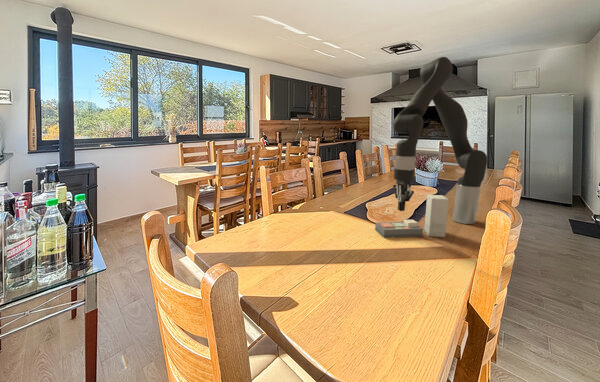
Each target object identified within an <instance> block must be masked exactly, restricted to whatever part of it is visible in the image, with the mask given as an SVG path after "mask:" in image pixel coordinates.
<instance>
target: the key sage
mask: <svg viewBox="0 0 600 382" xmlns="http://www.w3.org/2000/svg"><path fill="white" fill-rule="evenodd" d="M392 225H393V226H394V227H396V228H397V227H406V226H405V225H404V224H402V223H392Z"/></svg>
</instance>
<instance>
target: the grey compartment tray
mask: <svg viewBox="0 0 600 382" xmlns="http://www.w3.org/2000/svg"><path fill="white" fill-rule="evenodd" d="M403 222H404V221H387V222H386V221H385V222H384V221H380V222H377V221H376V222H375V229H374V230H375V231H376V232H377V233H378V234H379V235H380V237H382V238H383V237H384V238H383V239H388V237H389V239H390V237H395V238H418V237H423V233H424V231H423V230H424V228H422V227H421V226H419V225H418V226H417V227H407V226H406V227H397V228H396V227H394V228H383V227H382V226H381V225H380V223H390V224H392V223H402V224H403Z"/></svg>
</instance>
